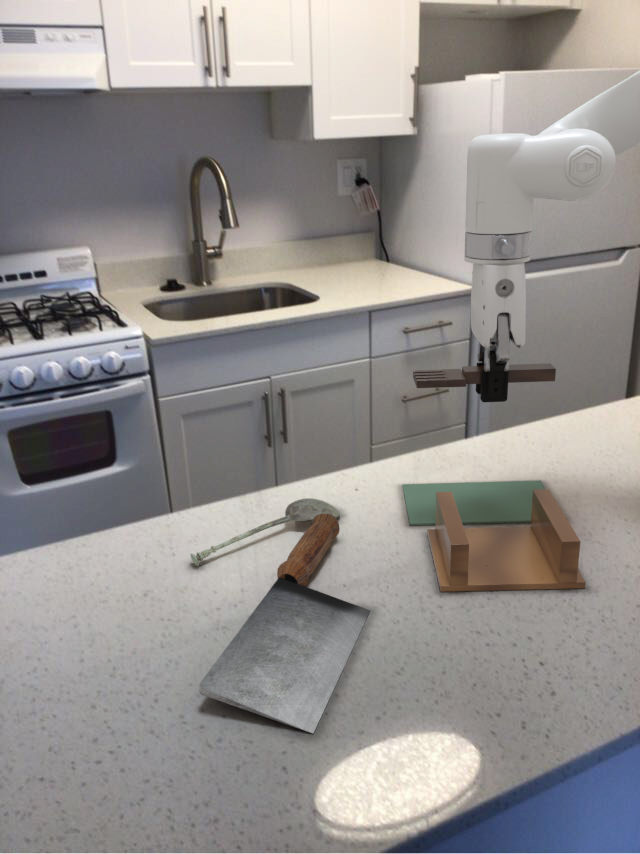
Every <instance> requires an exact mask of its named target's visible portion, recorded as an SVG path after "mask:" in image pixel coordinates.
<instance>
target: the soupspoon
mask: <svg viewBox="0 0 640 854" xmlns="http://www.w3.org/2000/svg"><path fill="white" fill-rule="evenodd" d="M284 512H285V513H284V515H285V516H282V517H280V518H277V519H274V520H271V521H268V522H266V523H264V524H261V525H259V526H256V527H255V528H252V529H250V530H247V531H246V532H243V533H241V534H239V535H236V536H234V537H232V538H230V539H228V540H226V541H223V542H221V543H219V544H217V545H215V546H214V545H211V546H210V548H208V549H207V548H206V549H203V550H202V551H200V552H196V555H195V554H194V553H193V552H192V553H191V552H190V559H191V561H192V562H193V564H194V565H195V566H196V567H199V565H200V562H203V561H204V559H206V558H207V557H209V556H211V554H212V553H214V554H215V553H217V551H219V550H221V549H223V548H225V547H228V546H230V545H232V544H235V543H237V542H240V541H242V540H244V539H246V538H249V537H251V536H254V535H255V534H258V533H260V532H263V531H265V530H268V529H270V528H273V527H275V526H279V525H282V524H285V523H289V522H305V521H313V519H314V517H316V516H317V515H319V514H331V515H333V516H334V517H336V519H337V518H339V517H340V516H341V513H340V511H339V510H338V509H337V508H335V507H334V506H333V505H331V504H330V503H329V502H327V501H324V500H321V499H318V498H311V497H310V498H309V497H308V498H300V499H297V500H295V501H293V502H291V503H289V504H288V505H287V507H286V508H285V510H284Z"/></svg>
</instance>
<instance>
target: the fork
mask: <svg viewBox="0 0 640 854" xmlns="http://www.w3.org/2000/svg"><path fill="white" fill-rule="evenodd" d="M481 370H484V366H477V365H466V366H465V365H463V366H462V367H461V368H446V369H444V368H443V369H419V370H417V369H416V370H412V379H413V382H414V384H415V387H416V389H437V388H439V389H440V388H466V387H467V385H476V384H481ZM556 374H557V368H556V367H555V366H554V365H553V364H552V363H551V362H550V363H549V362H548V363H547V362H546V363H526V364H525V363H523V364H522V363H521V364H509V376H508V384H513V383H515V384H516V383H536V382H537V383H542V382H543V383H544V382H556Z"/></svg>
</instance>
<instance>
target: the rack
mask: <svg viewBox="0 0 640 854" xmlns="http://www.w3.org/2000/svg"><path fill="white" fill-rule="evenodd" d="M434 526H435V528H428V529H427V532H426V533H427V538H428V543H429V547H430V551H431V552H430V553H431V555H432V560H433V565H434V568H435V574H436V577H437V582H438V586H439V590H440V592H443V593H444V592H482V591H483V592H486V591H488V592H489V591H525V590H526V591H527V590H529V591H531V590H567V589H571V590H572V589H574V590H575V589H586V582H587V581H586V580H585V579H584V577H583V575H582V573H581V571H580V569H579V562H580V552H581V543H582V542H581V539H580V538H579V537H578V535H577V533H576V531H575V529H574V528H573V527H572V525H571V523H570V521H569V519H568V518H567V516H566V515H565V513H564V512H563V509H562V508H561V507H560V505H559V503H558V502H557V500H556V498H555V497H554V495H553V494H552V492H551V490H550V489H549V488H545V489H536V490H533V495H532V510H531V522H530V526H504V527H503V526H500V527H499V526H498V527H464V524H462V521H461V518H460V515H459V512H458V509H457V506H456V503H455V500H454V497H453V494H452V492H436V522H435V525H434Z"/></svg>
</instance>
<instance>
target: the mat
mask: <svg viewBox="0 0 640 854" xmlns="http://www.w3.org/2000/svg"><path fill="white" fill-rule="evenodd" d="M401 487H402V492H403V497H404V502H405V508H406V512H407V517H408V518H407V519H408V524H409V526H435V522H436V492H452V494H453V497H454V500H455V503H456V506H457V509H458V512H459V515H460V518H461V521H462V524H463V525H477V524H478V525H482V524H486V525H487V524H488V525H489V524H522V523H523V524H524V523H531V510H532V495H533V490H536V489H546V487H545V485H544V483H543V482H542V480H539V479H538V480H511V481H510V480H509V481H507V480H506V481H473V482H469V481H468V482H440V483H439V482H438V483H402V484H401Z"/></svg>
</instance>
